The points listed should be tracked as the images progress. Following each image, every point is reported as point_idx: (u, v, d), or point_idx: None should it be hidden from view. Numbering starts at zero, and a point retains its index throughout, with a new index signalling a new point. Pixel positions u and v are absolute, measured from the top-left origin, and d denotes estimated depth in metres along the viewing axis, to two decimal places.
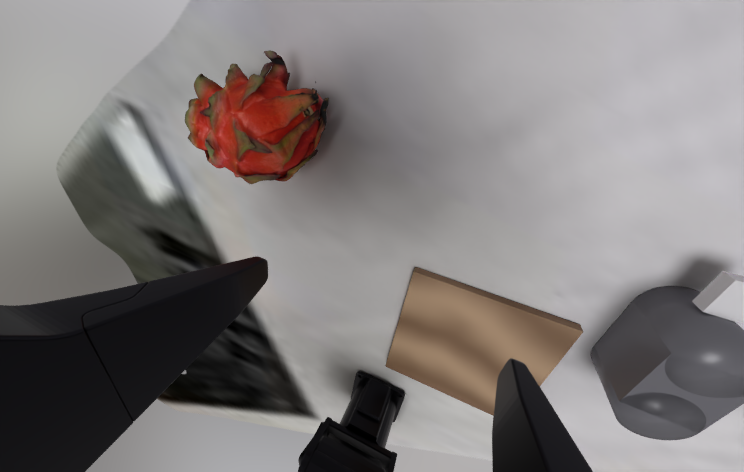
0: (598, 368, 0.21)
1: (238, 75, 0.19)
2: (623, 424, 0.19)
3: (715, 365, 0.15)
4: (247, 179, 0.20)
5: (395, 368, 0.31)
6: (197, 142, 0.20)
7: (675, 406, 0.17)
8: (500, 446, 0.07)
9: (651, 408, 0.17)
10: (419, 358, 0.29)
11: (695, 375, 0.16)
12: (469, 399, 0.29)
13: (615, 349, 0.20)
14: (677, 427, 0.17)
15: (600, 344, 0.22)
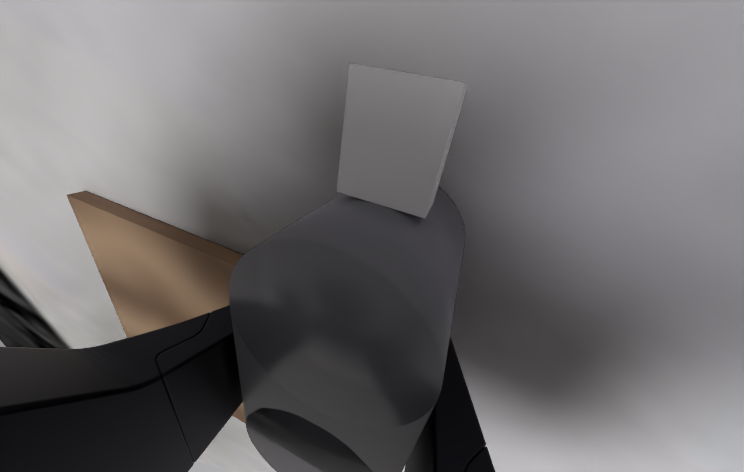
0: None
1: None
2: None
3: (311, 332, 0.05)
4: None
5: None
6: None
7: (317, 443, 0.07)
8: None
9: (291, 445, 0.07)
10: None
11: (298, 364, 0.06)
12: None
13: None
14: None
15: None
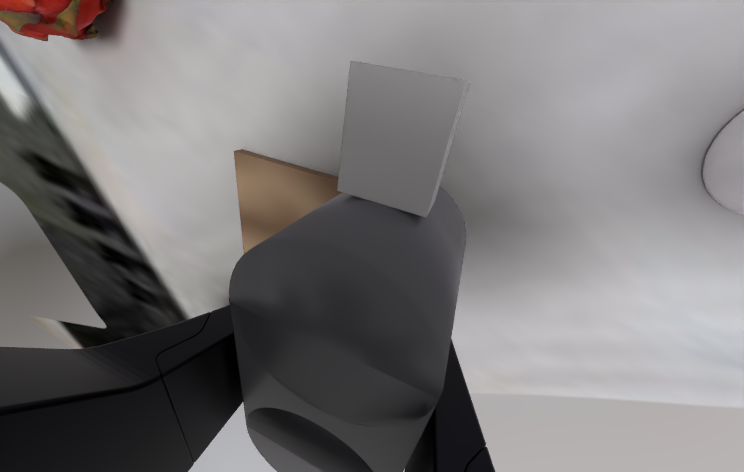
0: None
1: None
2: None
3: (312, 332, 0.05)
4: None
5: None
6: None
7: (318, 443, 0.07)
8: None
9: (292, 444, 0.07)
10: None
11: (299, 363, 0.06)
12: None
13: None
14: None
15: None
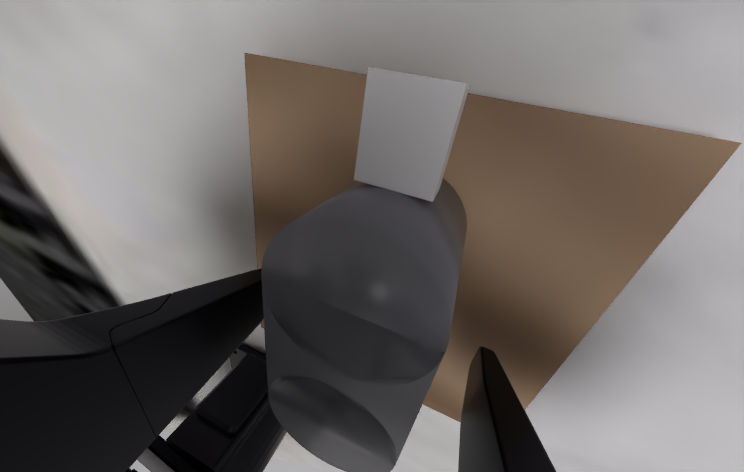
0: None
1: None
2: (300, 442, 0.09)
3: (335, 299, 0.06)
4: None
5: None
6: None
7: (335, 406, 0.08)
8: (466, 430, 0.07)
9: (310, 411, 0.08)
10: None
11: (321, 330, 0.06)
12: None
13: None
14: (362, 451, 0.08)
15: None
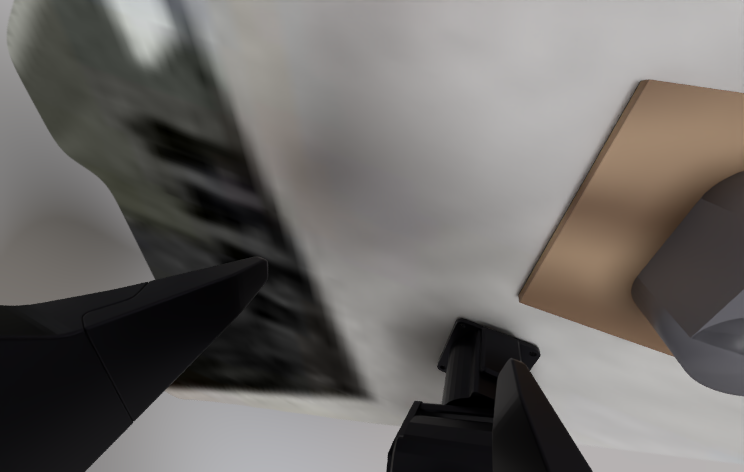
0: (646, 304, 0.15)
1: None
2: (694, 376, 0.12)
3: None
4: None
5: (539, 304, 0.19)
6: None
7: None
8: (500, 446, 0.07)
9: None
10: (598, 279, 0.17)
11: None
12: None
13: (675, 270, 0.14)
14: None
15: (647, 271, 0.15)
